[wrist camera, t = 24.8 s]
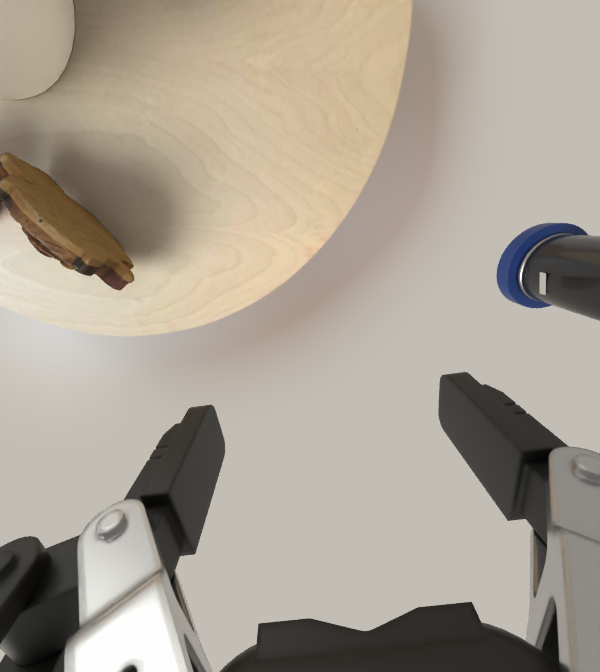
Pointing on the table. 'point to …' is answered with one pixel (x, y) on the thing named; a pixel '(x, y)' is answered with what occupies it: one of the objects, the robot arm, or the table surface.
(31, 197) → the wooden carving
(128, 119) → the table surface
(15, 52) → the bowl
